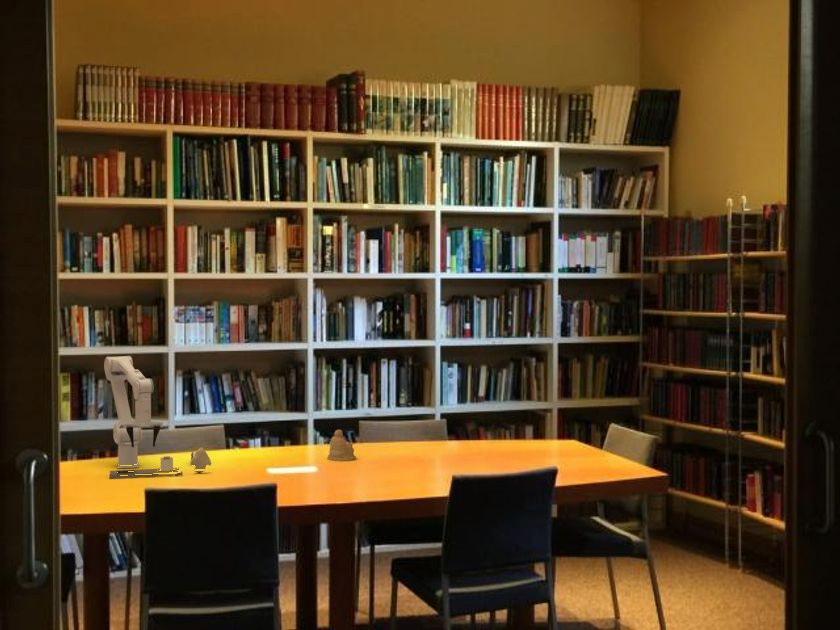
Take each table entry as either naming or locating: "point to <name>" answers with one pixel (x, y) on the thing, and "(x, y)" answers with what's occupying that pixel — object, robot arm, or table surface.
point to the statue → (340, 448)
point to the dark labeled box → (192, 455)
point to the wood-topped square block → (167, 464)
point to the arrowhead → (200, 459)
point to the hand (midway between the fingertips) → (143, 446)
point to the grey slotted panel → (143, 471)
